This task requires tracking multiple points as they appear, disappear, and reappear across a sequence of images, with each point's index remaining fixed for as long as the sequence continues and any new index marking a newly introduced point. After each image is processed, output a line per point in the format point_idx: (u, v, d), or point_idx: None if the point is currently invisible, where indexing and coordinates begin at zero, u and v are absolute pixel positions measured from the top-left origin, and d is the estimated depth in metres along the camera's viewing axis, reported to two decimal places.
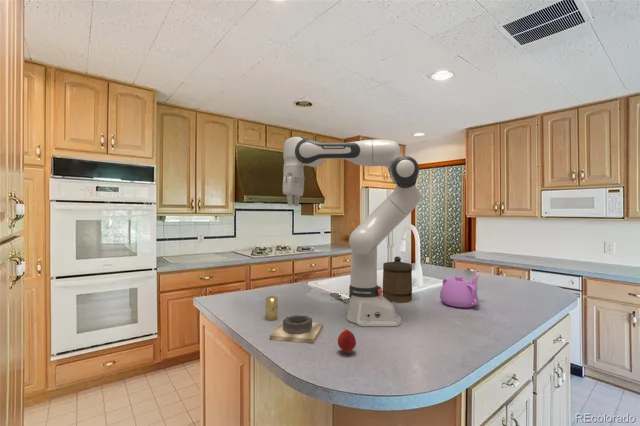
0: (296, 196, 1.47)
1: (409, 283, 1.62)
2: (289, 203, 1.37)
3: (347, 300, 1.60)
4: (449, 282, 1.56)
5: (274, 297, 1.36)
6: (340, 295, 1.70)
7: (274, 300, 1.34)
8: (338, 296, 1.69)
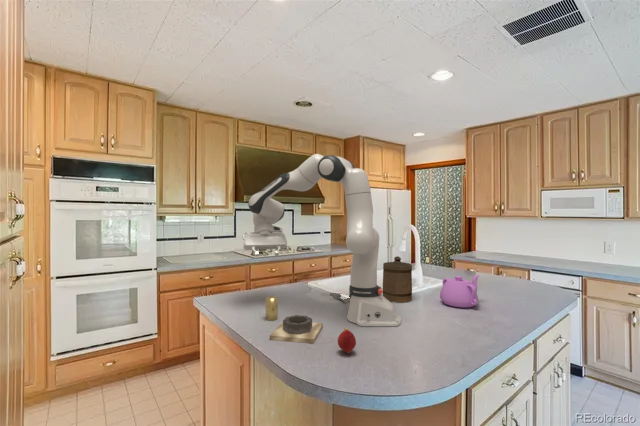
0: (276, 247, 1.52)
1: (409, 283, 1.62)
2: None
3: (346, 300, 1.60)
4: (449, 282, 1.56)
5: (274, 297, 1.36)
6: (339, 295, 1.70)
7: (274, 300, 1.34)
8: (337, 296, 1.69)
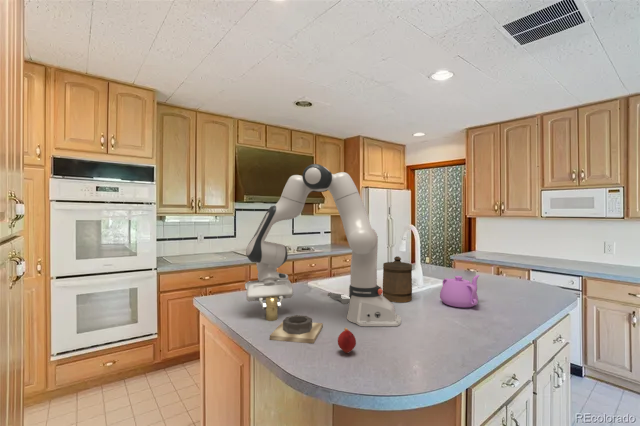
0: (278, 298, 1.39)
1: (409, 283, 1.62)
2: (262, 307, 1.35)
3: (344, 300, 1.60)
4: (449, 282, 1.56)
5: (274, 297, 1.36)
6: (337, 295, 1.69)
7: (274, 300, 1.34)
8: (335, 296, 1.68)
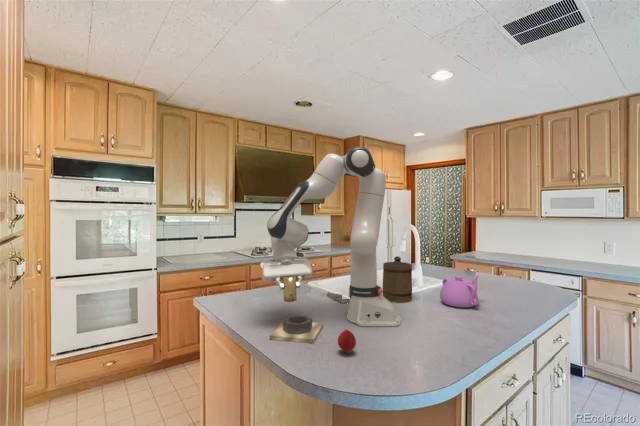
0: (297, 277, 1.29)
1: (409, 283, 1.62)
2: None
3: (343, 301, 1.59)
4: (449, 282, 1.56)
5: (292, 276, 1.25)
6: (336, 295, 1.69)
7: (292, 279, 1.23)
8: (334, 297, 1.68)
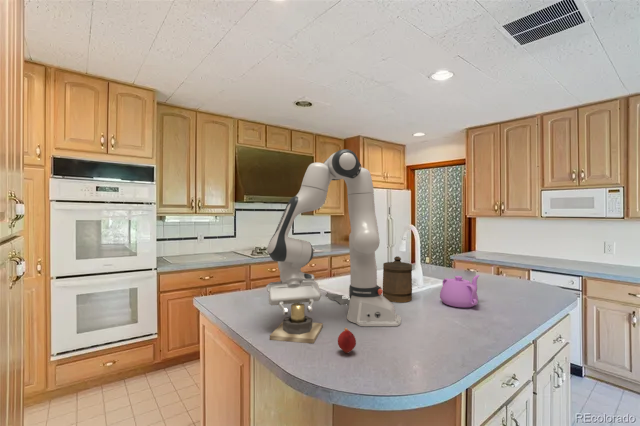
0: (308, 301, 1.24)
1: (409, 283, 1.62)
2: (283, 312, 1.18)
3: (342, 301, 1.59)
4: (449, 282, 1.56)
5: (300, 304, 1.20)
6: (335, 296, 1.69)
7: (301, 308, 1.18)
8: (333, 297, 1.68)
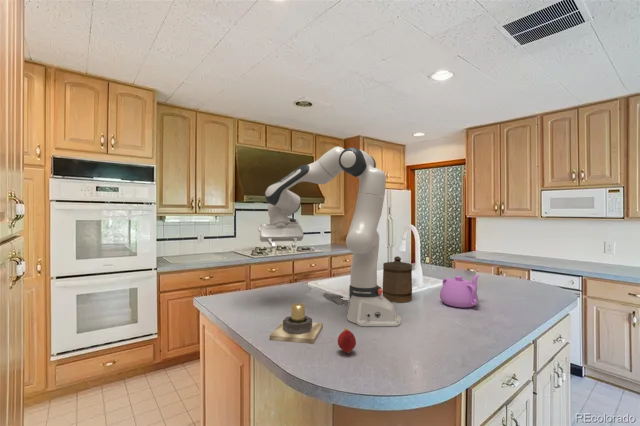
0: (293, 239, 1.49)
1: (409, 283, 1.62)
2: (271, 246, 1.43)
3: (339, 301, 1.58)
4: (449, 282, 1.56)
5: (301, 304, 1.20)
6: (333, 296, 1.68)
7: (301, 308, 1.18)
8: (331, 297, 1.67)
